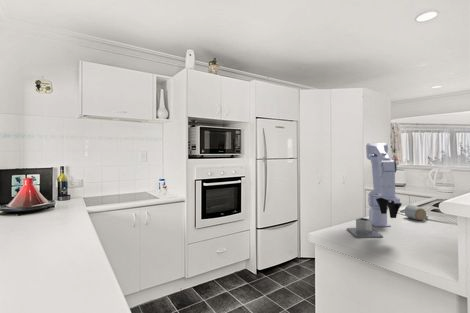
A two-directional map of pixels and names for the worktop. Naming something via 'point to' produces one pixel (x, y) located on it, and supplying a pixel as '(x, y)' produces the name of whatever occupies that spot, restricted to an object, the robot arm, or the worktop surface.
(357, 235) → the duct flange
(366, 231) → the sleeve
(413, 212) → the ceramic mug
